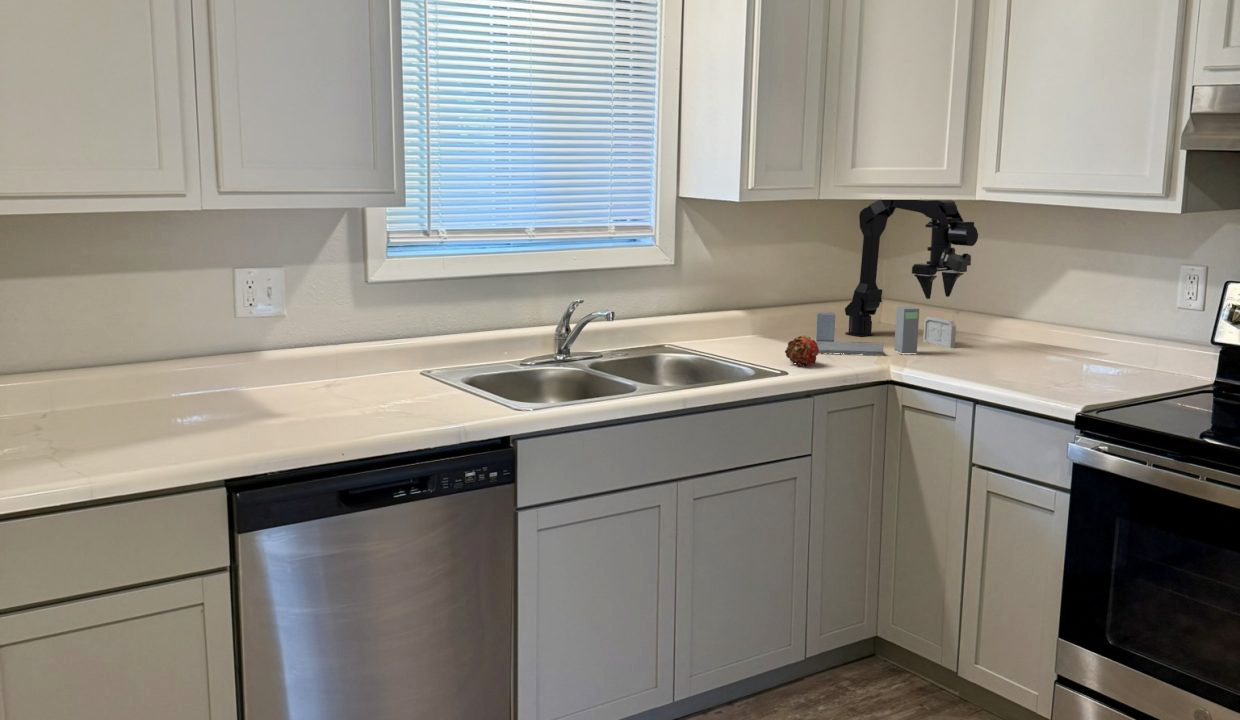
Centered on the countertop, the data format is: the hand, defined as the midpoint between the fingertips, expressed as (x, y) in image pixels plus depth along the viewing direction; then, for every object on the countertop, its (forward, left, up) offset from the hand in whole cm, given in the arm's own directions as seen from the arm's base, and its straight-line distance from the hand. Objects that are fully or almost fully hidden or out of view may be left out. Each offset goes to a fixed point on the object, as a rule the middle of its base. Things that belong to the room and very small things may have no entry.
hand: (937, 297), depth 320 cm
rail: (-9, -28, -15) cm, 33 cm away
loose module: (+1, -15, -15) cm, 21 cm away
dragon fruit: (-4, -52, -15) cm, 54 cm away
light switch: (-2, +5, -15) cm, 16 cm away
